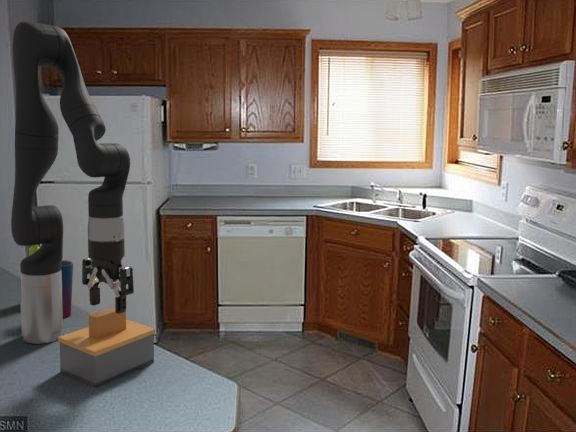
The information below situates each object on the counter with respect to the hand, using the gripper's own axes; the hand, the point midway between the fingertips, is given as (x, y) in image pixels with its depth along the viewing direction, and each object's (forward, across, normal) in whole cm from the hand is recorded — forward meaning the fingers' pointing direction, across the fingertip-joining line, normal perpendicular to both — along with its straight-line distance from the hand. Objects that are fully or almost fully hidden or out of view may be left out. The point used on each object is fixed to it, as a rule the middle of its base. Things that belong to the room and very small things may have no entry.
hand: (107, 308), depth 124 cm
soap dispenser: (+13, -50, +15) cm, 54 cm away
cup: (+13, -36, +13) cm, 41 cm away
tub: (+14, 0, 0) cm, 14 cm away
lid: (+8, 0, 0) cm, 8 cm away
